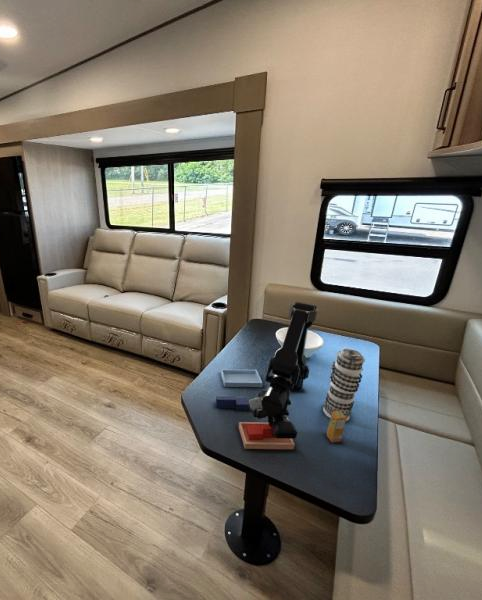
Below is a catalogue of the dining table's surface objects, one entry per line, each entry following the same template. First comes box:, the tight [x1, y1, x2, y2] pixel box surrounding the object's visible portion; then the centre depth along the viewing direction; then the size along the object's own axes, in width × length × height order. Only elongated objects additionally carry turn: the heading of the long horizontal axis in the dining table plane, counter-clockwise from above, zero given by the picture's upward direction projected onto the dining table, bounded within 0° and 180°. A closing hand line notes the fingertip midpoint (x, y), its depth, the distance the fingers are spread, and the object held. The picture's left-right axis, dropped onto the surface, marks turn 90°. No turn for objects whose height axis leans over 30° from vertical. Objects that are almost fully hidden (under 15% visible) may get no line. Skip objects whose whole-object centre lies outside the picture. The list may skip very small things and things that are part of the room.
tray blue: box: [220, 368, 263, 388], centre depth 131 cm, size 15×9×2 cm, turn 89°
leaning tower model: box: [322, 348, 366, 422], centre depth 108 cm, size 9×9×25 cm
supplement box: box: [326, 411, 347, 443], centre depth 100 cm, size 3×3×10 cm
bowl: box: [275, 327, 325, 359], centre depth 151 cm, size 21×21×8 cm
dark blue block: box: [215, 395, 250, 411], centre depth 116 cm, size 11×4×4 cm, turn 89°
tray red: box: [238, 421, 295, 450], centre depth 102 cm, size 15×9×2 cm, turn 89°
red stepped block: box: [246, 425, 276, 440], centre depth 101 cm, size 11×4×4 cm, turn 89°
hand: (272, 433), depth 102 cm, fingers closed on red stepped block, 2 cm apart
